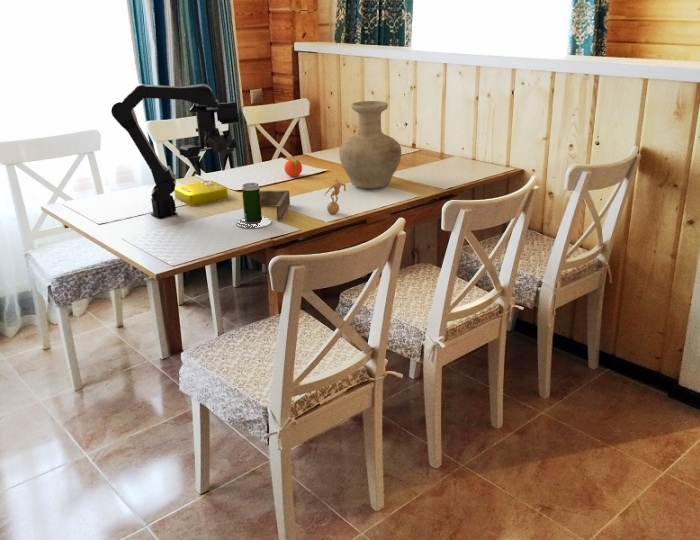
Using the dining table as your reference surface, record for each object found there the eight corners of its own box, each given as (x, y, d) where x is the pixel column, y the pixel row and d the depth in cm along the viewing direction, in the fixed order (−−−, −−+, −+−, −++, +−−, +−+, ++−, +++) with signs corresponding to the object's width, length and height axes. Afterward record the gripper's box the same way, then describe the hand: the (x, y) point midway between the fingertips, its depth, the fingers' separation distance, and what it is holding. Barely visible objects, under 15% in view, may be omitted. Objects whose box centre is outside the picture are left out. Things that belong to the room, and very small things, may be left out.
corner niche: (238, 221, 219) (237, 206, 217) (250, 204, 236) (249, 190, 234) (280, 221, 218) (279, 206, 216) (290, 204, 234) (289, 190, 233)
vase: (391, 196, 240) (391, 109, 229) (331, 192, 247) (328, 107, 236) (407, 180, 260) (408, 99, 248) (351, 176, 267) (349, 97, 255)
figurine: (339, 209, 228) (338, 174, 223) (351, 214, 223) (350, 178, 219) (319, 215, 223) (317, 179, 218) (330, 219, 219) (329, 182, 214)
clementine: (305, 178, 266) (304, 160, 264) (288, 180, 264) (287, 162, 261) (299, 173, 273) (298, 155, 270) (282, 175, 271) (281, 157, 268)
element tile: (173, 198, 246) (171, 185, 245) (211, 190, 255) (209, 178, 253) (191, 207, 235) (189, 194, 234) (230, 199, 244) (229, 186, 242)
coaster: (250, 231, 210) (250, 230, 210) (229, 223, 217) (229, 222, 217) (278, 222, 217) (278, 221, 217) (257, 215, 224) (257, 214, 224)
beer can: (249, 225, 214) (246, 188, 209) (242, 221, 218) (238, 184, 213) (264, 222, 216) (262, 185, 212) (257, 218, 220) (254, 181, 216)
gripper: (195, 133, 208) (200, 183, 214) (245, 123, 219) (249, 171, 225) (175, 128, 215) (181, 177, 221) (225, 119, 227) (229, 166, 233)
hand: (211, 173), depth 225 cm, fingers open, 9 cm apart
